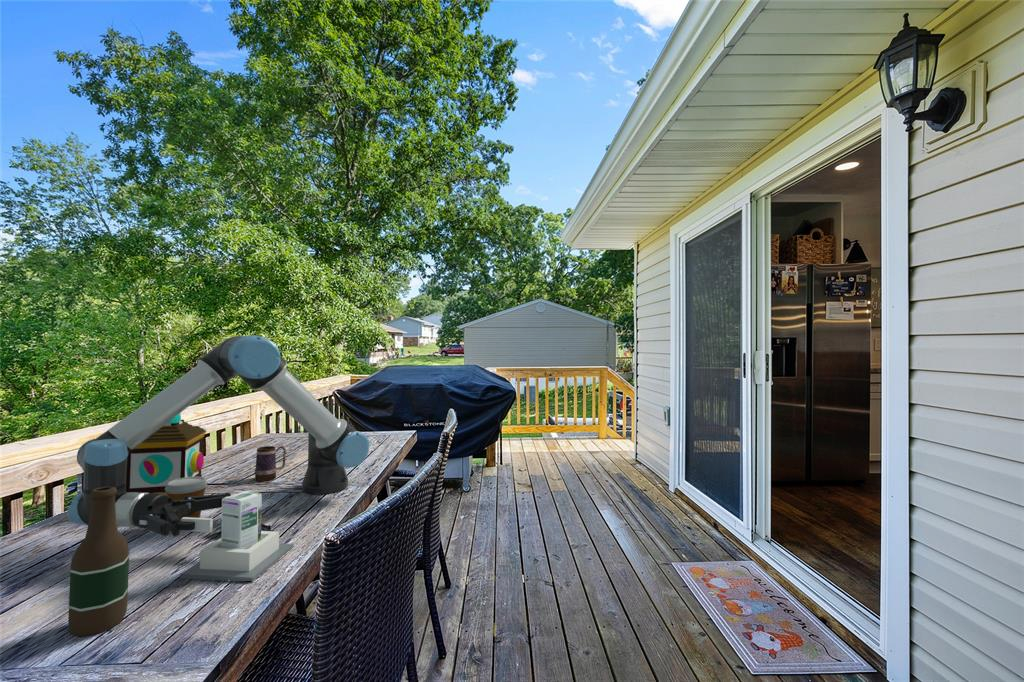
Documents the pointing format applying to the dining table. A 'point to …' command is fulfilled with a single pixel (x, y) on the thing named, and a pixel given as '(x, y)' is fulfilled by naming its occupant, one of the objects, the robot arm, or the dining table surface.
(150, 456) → the decorative lantern
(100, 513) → the beer bottle
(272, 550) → the socket holder
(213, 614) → the dining table surface
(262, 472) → the mug
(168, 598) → the dining table surface
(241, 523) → the syrup box
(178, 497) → the disposable coffee cup
